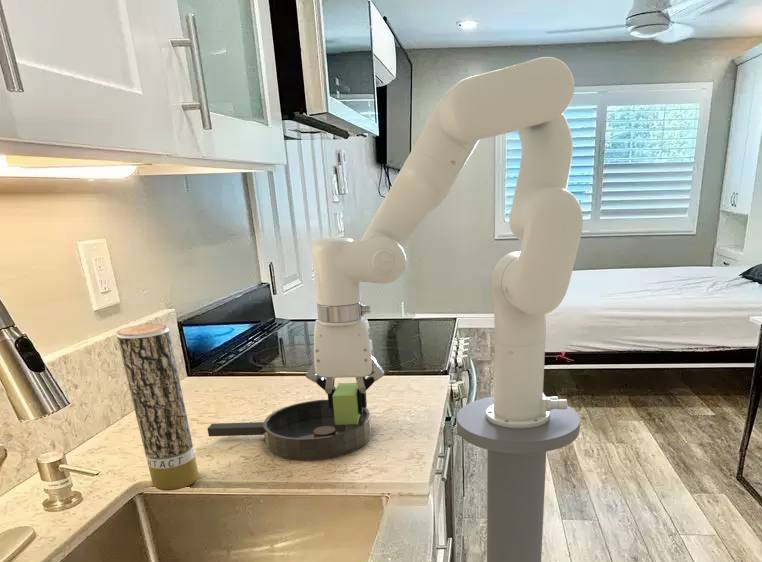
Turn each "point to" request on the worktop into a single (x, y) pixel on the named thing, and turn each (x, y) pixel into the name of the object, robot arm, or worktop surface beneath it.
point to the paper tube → (158, 405)
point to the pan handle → (236, 429)
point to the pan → (296, 437)
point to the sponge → (346, 404)
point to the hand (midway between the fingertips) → (348, 410)
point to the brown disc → (324, 431)
